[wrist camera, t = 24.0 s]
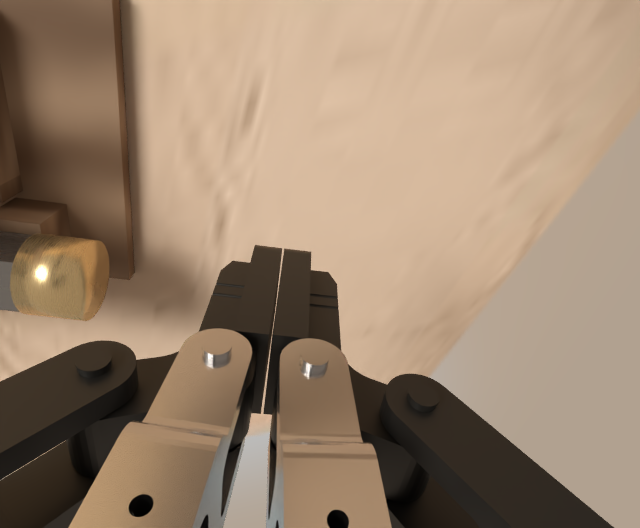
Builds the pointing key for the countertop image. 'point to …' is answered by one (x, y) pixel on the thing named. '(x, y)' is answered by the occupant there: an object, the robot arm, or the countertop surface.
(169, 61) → the countertop surface
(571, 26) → the countertop surface
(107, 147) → the holder
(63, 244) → the bar
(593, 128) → the countertop surface
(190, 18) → the countertop surface
